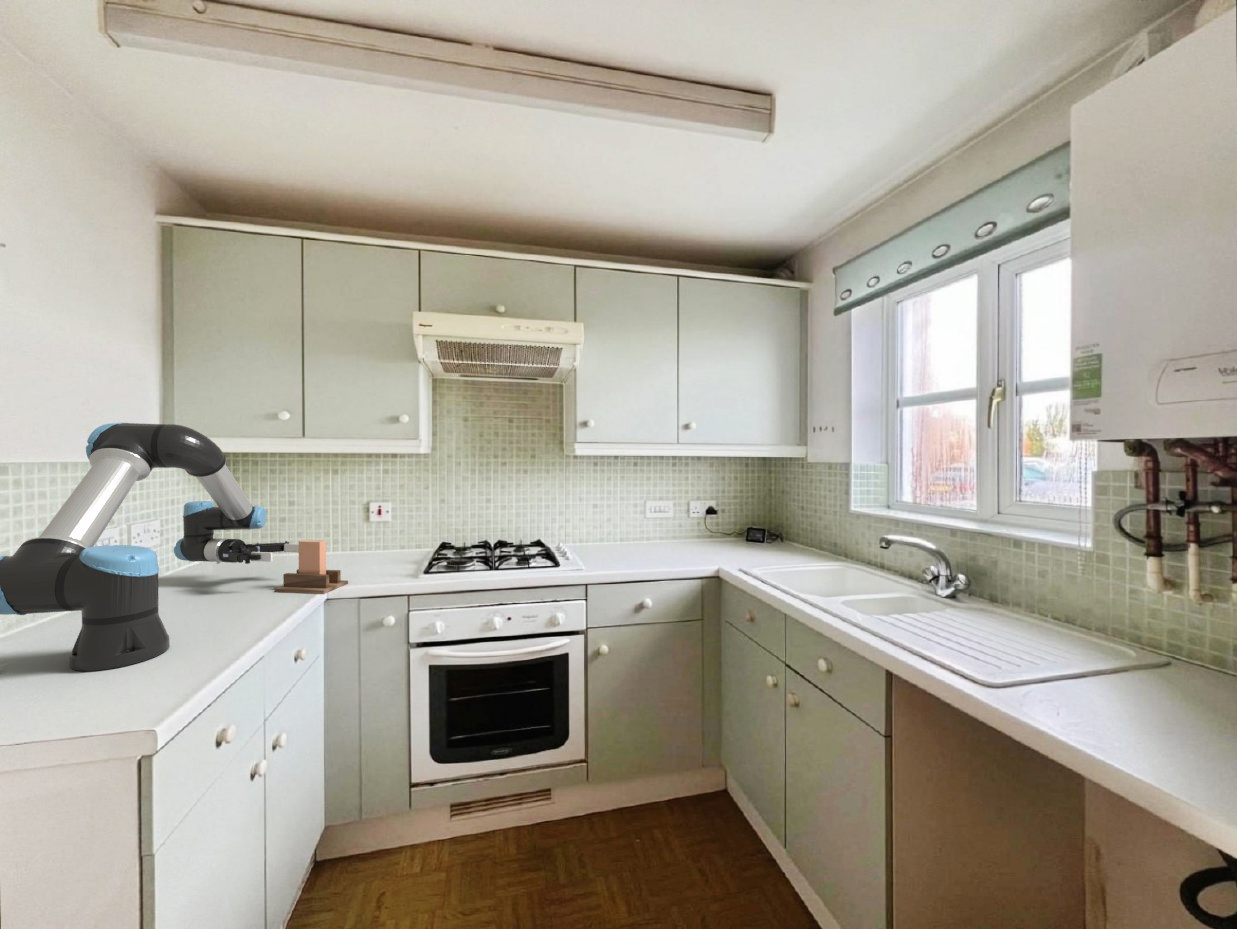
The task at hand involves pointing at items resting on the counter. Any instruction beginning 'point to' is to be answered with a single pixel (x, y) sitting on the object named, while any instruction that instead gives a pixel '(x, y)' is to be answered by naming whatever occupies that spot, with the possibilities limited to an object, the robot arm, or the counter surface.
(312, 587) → the slot rack
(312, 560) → the salmon orange block
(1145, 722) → the counter surface
